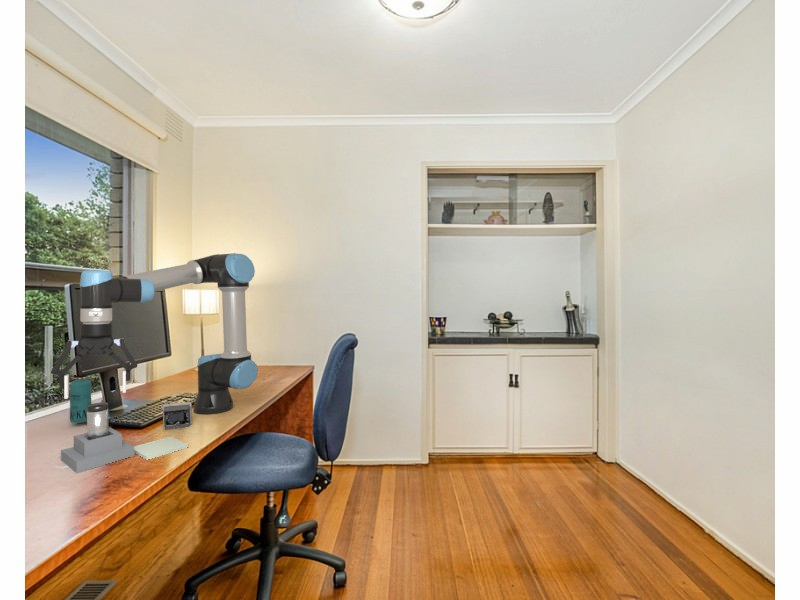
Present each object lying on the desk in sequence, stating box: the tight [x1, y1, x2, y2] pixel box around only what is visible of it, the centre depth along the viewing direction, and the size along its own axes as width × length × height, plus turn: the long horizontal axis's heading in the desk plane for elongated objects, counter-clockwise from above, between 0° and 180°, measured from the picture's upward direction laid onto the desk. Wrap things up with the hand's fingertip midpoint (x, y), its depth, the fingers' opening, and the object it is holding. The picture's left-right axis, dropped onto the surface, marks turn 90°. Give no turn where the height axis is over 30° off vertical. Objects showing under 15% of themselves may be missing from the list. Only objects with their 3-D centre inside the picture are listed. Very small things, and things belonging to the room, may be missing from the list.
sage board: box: [133, 436, 189, 461], centre depth 127 cm, size 12×12×1 cm
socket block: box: [60, 427, 135, 474], centre depth 120 cm, size 14×14×7 cm
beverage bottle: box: [69, 374, 93, 424], centre depth 150 cm, size 6×7×20 cm
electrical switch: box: [161, 401, 193, 431], centre depth 146 cm, size 9×5×9 cm, turn 113°
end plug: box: [86, 401, 109, 440], centre depth 120 cm, size 5×5×13 cm
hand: (96, 394), depth 119 cm, fingers open, 13 cm apart
